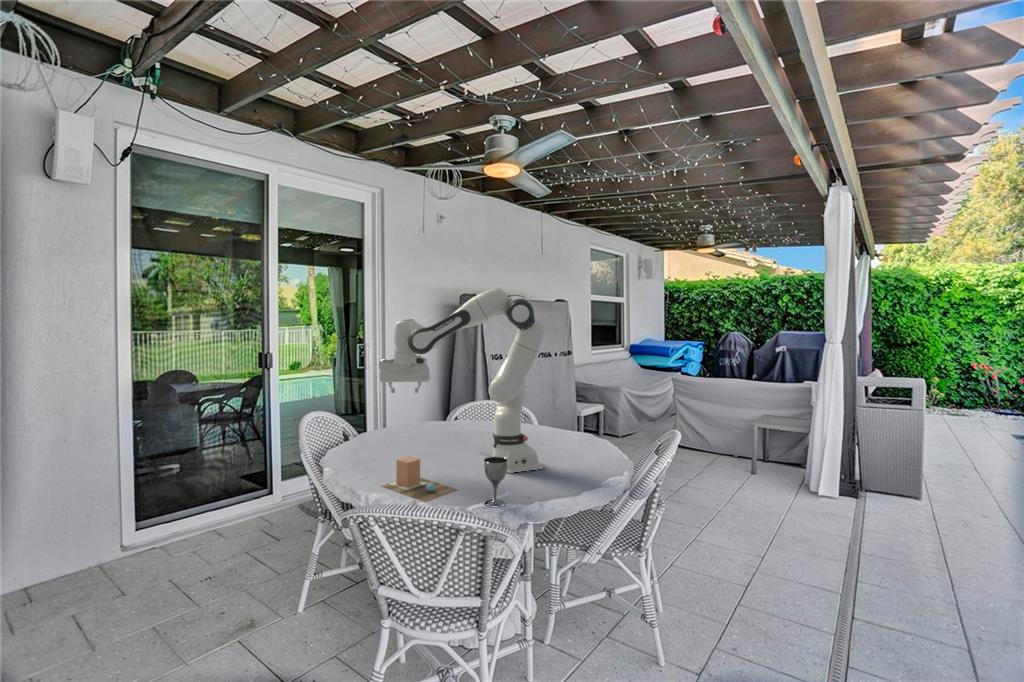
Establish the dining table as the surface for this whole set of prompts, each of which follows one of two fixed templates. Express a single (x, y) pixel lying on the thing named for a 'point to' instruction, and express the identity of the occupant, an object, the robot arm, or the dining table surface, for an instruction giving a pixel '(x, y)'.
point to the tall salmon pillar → (408, 471)
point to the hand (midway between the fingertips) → (404, 392)
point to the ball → (430, 487)
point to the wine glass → (495, 475)
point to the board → (421, 490)
